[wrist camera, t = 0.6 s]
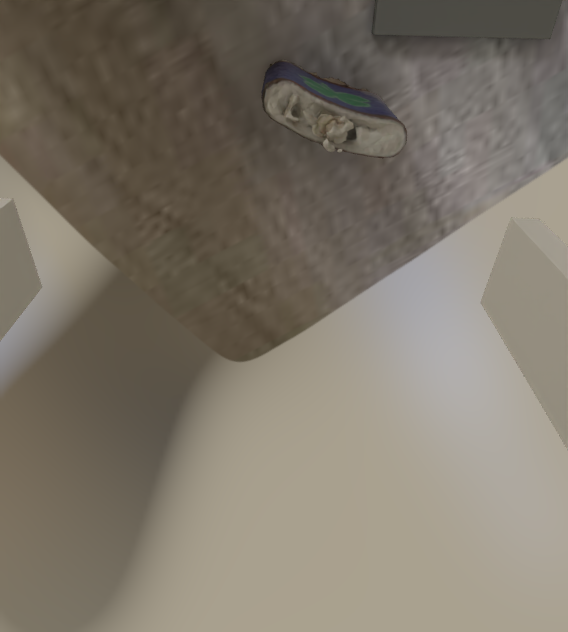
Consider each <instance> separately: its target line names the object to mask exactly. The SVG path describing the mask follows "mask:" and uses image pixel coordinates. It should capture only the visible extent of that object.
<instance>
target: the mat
mask: <svg viewBox="0 0 568 632" xmlns="http://www.w3.org/2000/svg"><path fill="white" fill-rule="evenodd" d="M561 2H562V0H375V8H374V17H373V26H372V34H373V35H403V36H444V37H484V38H524V39H550V38H551V35H552V31H553V28H554V25H555V22H556V19H557V15H558V12H559V9H560V6H561Z"/></svg>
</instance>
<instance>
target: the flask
mask: <svg viewBox="0 0 568 632" xmlns="http://www.w3.org/2000/svg"><path fill="white" fill-rule="evenodd" d="M262 102H263V108H264V111H265V112H266V113H267V114H268V116H269V117H270V118H271V119H273V120H274V121H276V122H277V123H279V124H281V125H283V126H285V127H286V128H288V129H290V130H292V131H294V132H295V133H297V134H299V135H300V136H302V137H304V138H307V139H309V140H310V141H313V142H316V143H319V144H321V145H323V146H324V148H325V149H326V150H328V151H329V152H334V151H335V149H337V150H338V151H337V152H338V153H339V152H342V151H344V152H350V153H353V154H358V155H364V156H369V157H378V158H388V157H394V156H395V155H397V154H398V153H399V152H400V151H401V150H402V149H403V147H404V146H405V144H406V141H407V130H406V128H405V126H404V125H403V123H402V122H400V121H399V120H398V119H397V117H396V116H395V115H394V114H393V113H392V112H391V111H390V109H389V108H388V107H387V105H386V104H385V102H384V101H383V99H382V98H381V97H380V96H379V95H377V94H375V93H372V92H370V91H368V90H367V89H364V88H362V89H356V88H353V87H350V86H349V85H347V84H346V83H345V82H342V81H340V80H339V79H334V78H323V79H322V78H320V77H318V76H317V73H316V72H315V73H308V72H306V71H304V70H303V69H302V68H301V66H300V67H299V66H297V65H295V64H293V63H290V62H288V61H286V60H281V61H278V62H275V63H274V64H270V68H269V69H268V70H267V71H266V73H265V79H264V84H263V88H262Z"/></svg>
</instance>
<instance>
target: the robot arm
mask: <svg viewBox="0 0 568 632" xmlns="http://www.w3.org/2000/svg"><path fill="white" fill-rule="evenodd" d="M41 288H42V285H41V282H40V279H39V276H38V273H37V270H36V267H35V263H34V260H33V257H32V254H31V251H30V248H29V245H28V243H27V239H26V236H25V233H24V230H23V227H22V224H21V221H20V218H19V215H18V212H17V209H16V206H15V203H14V200H13V199H12V198H0V341H1V340H2V338H3V337H4V336H5V334H6V333H7V332H8V331H9V329H10V328H11V327H12V325H13V324H14V323H15V322H16V320H17V319H18V318H19V316H20V315H21V314H22V313H23V311H24V310H25V309H26V307H27V306H28V305H29V304H30V302H31V301H32V300H33V298H34V297H35V296H36V295H37V293H38V292H39V291H40V289H41ZM481 304H482V306H483V307H484V309H485V310H486V312H487V314H488V316H489V317H490V319H491V321H492V322H493V324H494V326H495V328H496V329H497V331H498V333H499V334H500V336H501V338H502V339H503V341H504V343H505V344H506V346H507V348H508V349H509V351H510V353H511V355H512V356H513V358H514V360H515V361H516V363H517V365H518V366H519V368H520V370H521V372H522V373H523V375H524V377H525V378H526V380H527V382H528V383H529V385H530V387H531V388H532V390H533V392H534V394H535V395H536V397H537V399H538V400H539V402H540V404H541V405H542V407H543V409H544V411H545V412H546V414H547V416H548V417H549V419H550V421H551V422H552V424H553V426H554V427H555V429H556V431H557V432H558V434H559V436H560V438H561V439H562V441H563V443H564V444H565V446H566V448H567V449H568V246H567V245H566V244H565V243H564V242H563V241H562V240H561V239H560V238H559V237H558V236H557V235H556V234H555V233H554V232H553V231H552V230H550V228H548V227H547V226H546V225H545V224H544V223H543V222H542V221H541V220H540V219H534V218H533V219H532V218H511V219H510V222H509V225H508V227H507V230H506V233H505V236H504V239H503V242H502V244H501V247H500V250H499V253H498V255H497V258H496V261H495V263H494V266H493V269H492V272H491V275H490V278H489V280H488V283H487V286H486V288H485V291H484V294H483V297H482V300H481Z"/></svg>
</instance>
